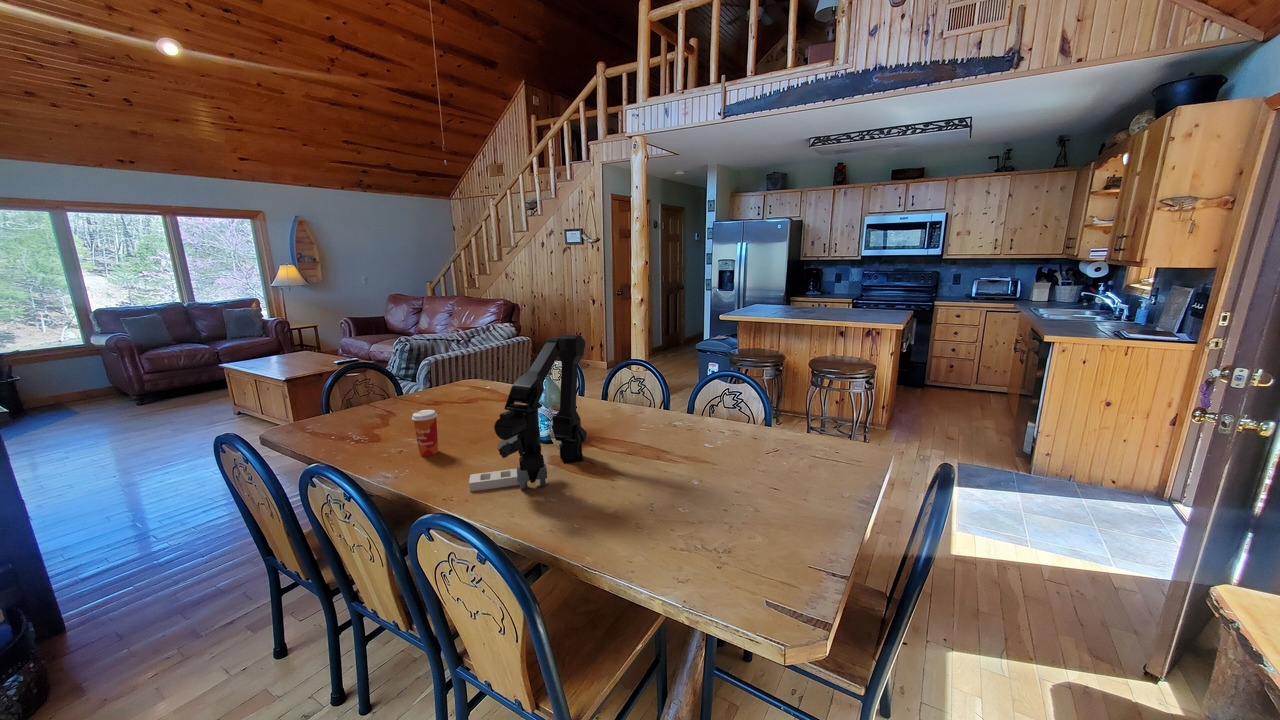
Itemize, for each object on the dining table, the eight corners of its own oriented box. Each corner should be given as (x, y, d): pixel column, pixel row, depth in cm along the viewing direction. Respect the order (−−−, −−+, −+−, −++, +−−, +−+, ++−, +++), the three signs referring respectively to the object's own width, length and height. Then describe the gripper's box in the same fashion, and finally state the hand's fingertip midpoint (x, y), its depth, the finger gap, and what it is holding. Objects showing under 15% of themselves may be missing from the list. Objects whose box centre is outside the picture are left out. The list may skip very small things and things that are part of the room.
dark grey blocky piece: (546, 480, 139) (545, 463, 138) (547, 485, 136) (546, 468, 135) (518, 484, 137) (516, 467, 136) (518, 489, 134) (516, 472, 133)
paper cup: (411, 455, 160) (405, 415, 157) (429, 447, 167) (424, 408, 164) (429, 459, 157) (424, 417, 154) (446, 450, 164) (442, 410, 161)
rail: (521, 476, 143) (520, 468, 143) (521, 484, 138) (521, 476, 137) (471, 482, 140) (470, 474, 139) (469, 491, 134) (468, 483, 134)
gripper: (498, 419, 140) (502, 469, 143) (497, 443, 122) (502, 500, 125) (537, 415, 142) (541, 465, 146) (542, 437, 125) (546, 493, 128)
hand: (532, 479), depth 136 cm, fingers closed on dark grey blocky piece, 3 cm apart
